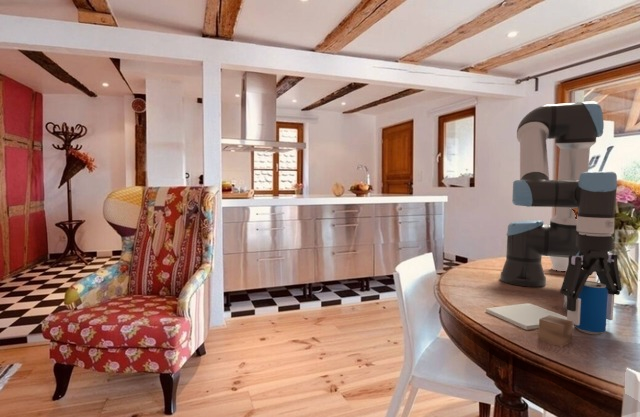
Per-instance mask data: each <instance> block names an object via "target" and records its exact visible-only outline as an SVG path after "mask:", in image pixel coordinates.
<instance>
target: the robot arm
mask: <svg viewBox="0 0 640 417" xmlns="http://www.w3.org/2000/svg"><path fill="white" fill-rule="evenodd" d="M604 123H605V122H604V113H603V110H602V107H601V105H600V104H599V103H598V102H597V101H581V102H580V101H578V102H569V103H557V104H545V105H544V104H543V105H541V106H538V107H536V108H534V109H533V110H531V111H530V112H528V113H527V114H526V115H525V116H524V117H523V118H522V119H521V121H520V122H519V124H518V126H517V130H516V138H517V141H518V142H519V179H516V180H514V181H513V182H512V204H513V205H515V206H518V207H519V206H520V207H521V206H522V207H526V208H527V207H529V208H530V207H535V208H536V207H537V208H538V207H539V208H540V207H542V208H545V207H546V208H548V207H549V208H555V215H554V216H553V217H551V218H550V222H549V224H547V223H544V221H543V220H542V219H535V220H534V219H529V220H528V219H526V220H517V221H513V222H510V223H508V225H507V232H506V237H507V239H506V253H505V255H506V259H505V262H504V264H503V268H502V271H501V272H500V281H502V282H503V283H507V284H510V285H514V286H520V287H530V288H531V287H532V288H533V287H534V288H536V287H538V288H539V287H545V286H546V285H547V277H546V276H545V272H544V268H543V264H542V257H550V256H552V257H565V258H569V260H568V267H567V271H566V272H565V274H564V278H563V281H562V284H561V288H560V294H561V295H563V296H564V295H565V296H567V311H566V312H567V313H566V314H567V315H566V317H567V320H569V321H572V322H573V324H572V325H574V324H575V325H580V307H581V299H579V298H578V297H579V295H580V293H581V291H582V289H583V287H584V285H585V283H586V281H588V279H589V277H590V276H592V275H593V273H596V276H597V278H598V280H599V283H602V284H605V285H606V289H607V290H608V299H607V316H606V320H609V321H613V320H614V319H613V318H614V316H613V315H614V305H615V296H619V295H620V294H621V292H622V290H623V289H622V288H623V287H622V282H621V276H620V272H619V266H618V254H615V253H611V252H613V250H614V241H615V237H614V236H613V234H614V233H615V218H616V205H617V203H616V202H617V191H618V190H617V189H618V187H619V185H618V176H617V174H616V172H614V171H589V165H590V164H589V163H590V154H591V152H590V150H591V147H592V146H594V145H595V144H596V143H597V138H601V137H603V133H604V130H605V129H604V127H605V126H604V125H605V124H604ZM551 139H555V141H554V144H555V145H556V146H557V147H558V148H559V156H558V157H559V159H558V175H557V180H556V179H550V174H549V173H550V172H549V161H548V159H549V158H548V149H547V140H551ZM570 208H571V209H570ZM573 208H578V214H577V220H576V219H575V217H576V215H575V213H574V211H573V210H572V209H573ZM609 252H610V253H609Z"/></svg>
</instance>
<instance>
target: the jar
mask: <svg viewBox="0 0 640 417" xmlns="http://www.w3.org/2000/svg"><path fill="white" fill-rule="evenodd" d="M549 258H550V262H551V265H552V266H551V270H553V271H556V270H557V272H561V271H567V267H568V260H569V258H565V257H552V256H549Z"/></svg>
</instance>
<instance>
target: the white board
mask: <svg viewBox="0 0 640 417" xmlns="http://www.w3.org/2000/svg"><path fill="white" fill-rule="evenodd" d="M485 312H486V313H488V314H490V315H492V316H493V317H494V316H495V317H497V318H499V319H502V320H504V321H506V322H507V323H510V324H512V325H515V326H517V327H519V328H521V329H524V330H526V331H528V330H534V329H539V319H541V318H544V317H546V316H549V315H551V316H554V317H558V318H562V319H565V320H567V315H566V316H565V315H562V314H560V313H557V312H554V311H552V310H549V309H546V308H544V307H540V306H538V305H536V304H532V303H530V302H528V303H521V304H520V303H518V304H509V305H503V306H495V307H486V308H485Z"/></svg>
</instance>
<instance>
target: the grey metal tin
mask: <svg viewBox="0 0 640 417" xmlns="http://www.w3.org/2000/svg"><path fill="white" fill-rule="evenodd" d="M562 307H563V308H562V310H563V311H565V312H567V296H565V295H563V306H562Z"/></svg>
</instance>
